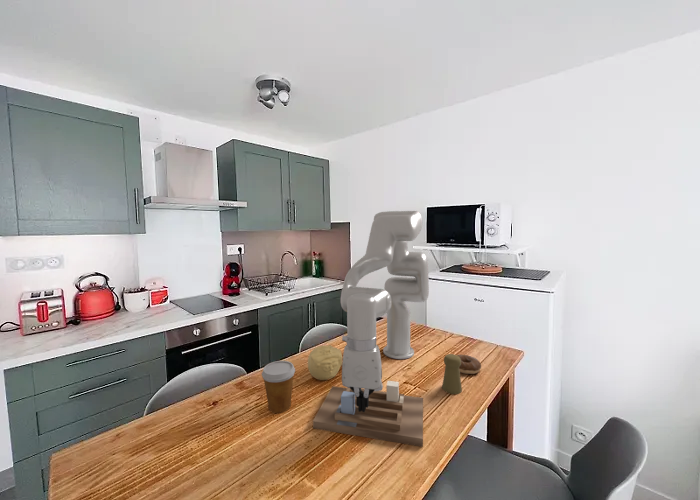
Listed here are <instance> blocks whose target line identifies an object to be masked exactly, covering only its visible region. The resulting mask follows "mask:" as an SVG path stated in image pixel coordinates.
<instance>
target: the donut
mask: <svg viewBox="0 0 700 500" xmlns="http://www.w3.org/2000/svg"><path fill="white" fill-rule="evenodd" d="M456 355H457V356H459V358H460V359H461V365H460V367H459V370H460V374H465V375H466V374H467V375H474V374H478V373H479V372H481V369H482V364H481V362H480V360H479V359H477V358H475V357H474V356H471V355H469V354H468V355H467V354H456Z"/></svg>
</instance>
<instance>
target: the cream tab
mask: <svg viewBox="0 0 700 500" xmlns="http://www.w3.org/2000/svg"><path fill="white" fill-rule="evenodd" d="M399 385H400V382H399V381H394V380H387V382H386V392H387V401H391V402H399V394H400V391H399V390H400V388H399V387H400V386H399Z"/></svg>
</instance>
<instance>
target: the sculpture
mask: <svg viewBox="0 0 700 500" xmlns="http://www.w3.org/2000/svg"><path fill="white" fill-rule="evenodd" d="M342 362H343V353H342V350H341V348H338V347H335V346H332V344H329V345H319V346H317V347H315V348H314V349H312V350H311V352H310V353H309V355H308V358H307V369H308V371H309V373H310V375H311V377H313V378H315V379H317V380H318V381H326V380H331V379H333V378H334V377H335V376H336V375H337V374H338V373H339V370H340V368H342Z"/></svg>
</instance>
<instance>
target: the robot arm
mask: <svg viewBox="0 0 700 500" xmlns="http://www.w3.org/2000/svg"><path fill="white" fill-rule="evenodd" d="M422 229H423V217H422V215H421V213H420V212H419V211H418V210H401V211H400V210H393V211H390V210H389V211H388V210H387V211H381V212H378V213H376V214H374V216H373V220H372V224H371V227H370V232H369V236H368V241H367V246H366V251H365V254H364V255H363V256H362V257H361V258H360V259H358V260H357V261H356V262H355V263H354V264H353V265H352V266H351V267H350V268H349V270H348V271H347V273H346V275H345V278H344V281H343V284H342V288H341V292H340V293H341V294H340V306H341V308H342V310H343V311H344V312H346V316H347V317H346V321H347V322H346V323H347V325H346V327H347V330H346V331H347V334H346V335H342V337H341V341H342V342H345V343H346V345H345V346H344V348H343V352H342V365H341V382H342V386H343V387H344V388H350V389H351V390H352V391H353V392H354V393H355V396H356V402H357V406H358V409H359V412H361V411H363V412H365V409H366V407H367V408H368V405H369V395H370V394H371V393H372V392H374V391H383V388H384V384H383V381H382V379H383V369H382V367H383V366H382V358H381V357H382V356H381V352H380V347H379V345H377V318H380V317H384V316H385V315H386V345H385V346H384V347H383V348H382V349H383V350H382V351H383V354H384V356H386V357H388V358H391V359H395V360H396V359H397V360H406V359H409V358H411V357H413V356H414V355H415V350H414V348H413V347H412V346H411V311H410V310H411V309H410V307H409V306H408V304H407V303H408V302H411V303H425V302H426V301H427V300H428V298H429V292H430V287H429V286H430V282H429V262H428V261H429V259H428V257H427V255H426V254H425V253H423V252H419V251H409V249H408V242H413V241H414V240H416V238H417V237H418V236H419V234H420V233H421V231H422ZM385 267H386V269H387V272H388V274H389V275H391V276H392V277H389V278H387V279H386V280H385V283H384V286H383V287H384V289H382V288H373V287H364V286H363V287H361V286H357V285H358V283H359V281H361V280H362V279H363V278H364V277H366V276H367V275H369V274H371V273H374V272H377V271H378V270H381V269H384V268H385ZM406 302H407V303H406ZM361 389H365V390H364V393H363V391H362V390H361Z"/></svg>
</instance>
